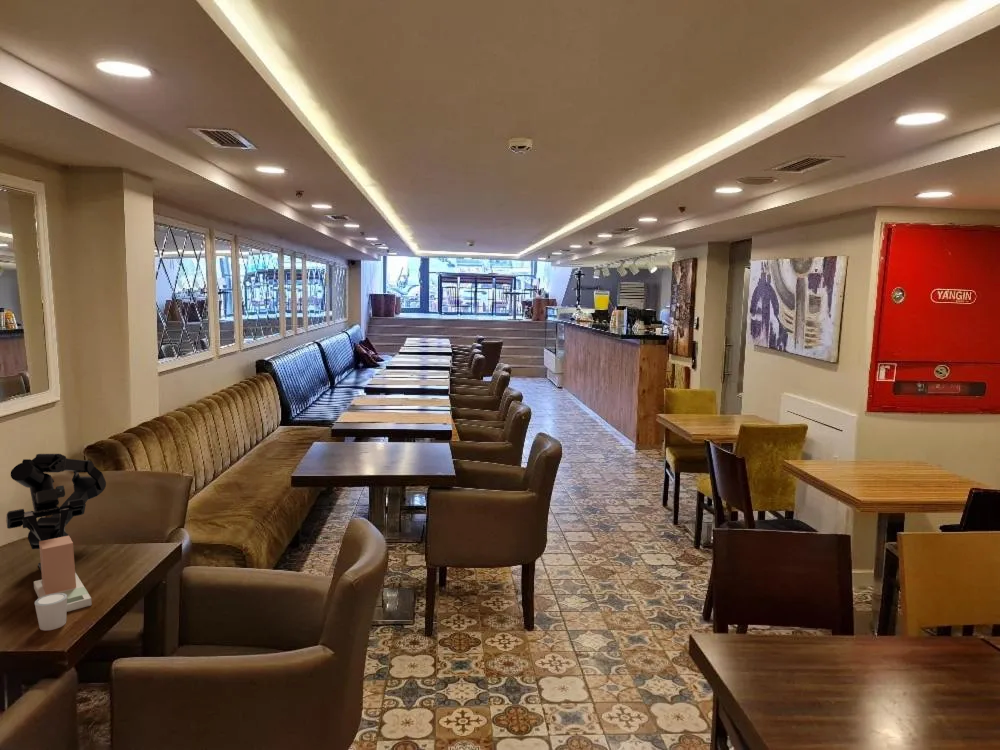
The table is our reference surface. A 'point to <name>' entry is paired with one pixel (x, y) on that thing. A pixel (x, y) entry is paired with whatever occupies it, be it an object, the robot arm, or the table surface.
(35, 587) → the trap board
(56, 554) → the terracotta block
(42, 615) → the white cup
